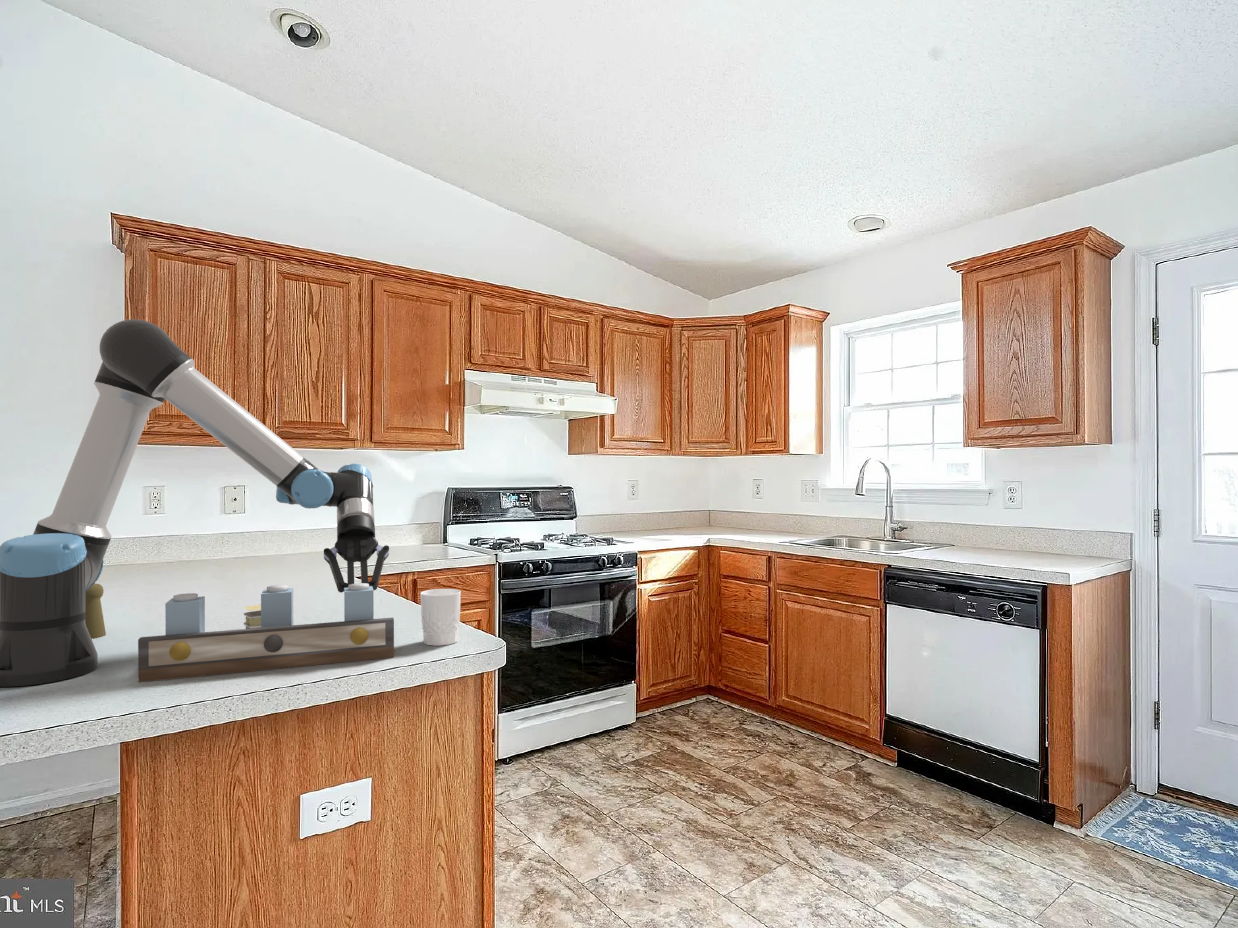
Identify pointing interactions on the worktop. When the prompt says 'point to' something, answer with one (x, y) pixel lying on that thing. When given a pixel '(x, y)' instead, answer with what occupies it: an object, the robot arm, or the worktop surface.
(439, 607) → the white cup
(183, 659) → the button console
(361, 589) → the right plunger
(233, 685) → the worktop surface
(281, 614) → the middle plunger
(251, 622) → the stacked layers on plate
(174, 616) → the left plunger
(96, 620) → the cork
